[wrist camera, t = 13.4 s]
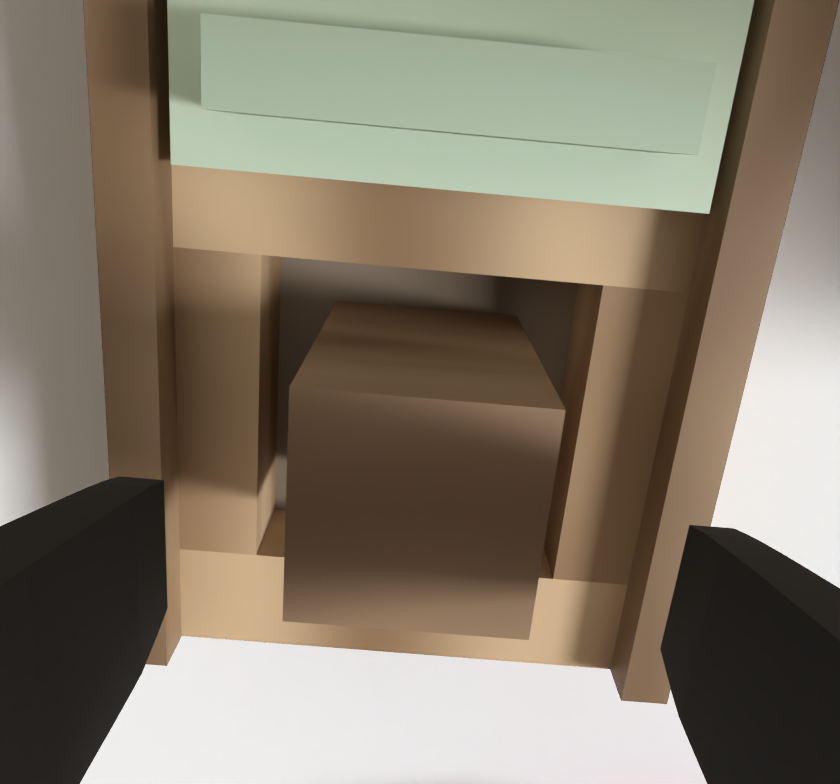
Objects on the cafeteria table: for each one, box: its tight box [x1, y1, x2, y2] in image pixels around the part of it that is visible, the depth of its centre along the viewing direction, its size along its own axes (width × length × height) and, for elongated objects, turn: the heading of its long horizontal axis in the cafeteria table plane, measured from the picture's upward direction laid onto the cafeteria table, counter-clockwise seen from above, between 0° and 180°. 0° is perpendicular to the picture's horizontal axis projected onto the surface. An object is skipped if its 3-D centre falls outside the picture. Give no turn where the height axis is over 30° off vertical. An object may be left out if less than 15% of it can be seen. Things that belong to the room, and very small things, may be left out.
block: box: [283, 301, 566, 640], centre depth 14 cm, size 4×4×6 cm
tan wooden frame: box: [83, 0, 839, 704], centre depth 14 cm, size 12×18×3 cm, turn 175°
